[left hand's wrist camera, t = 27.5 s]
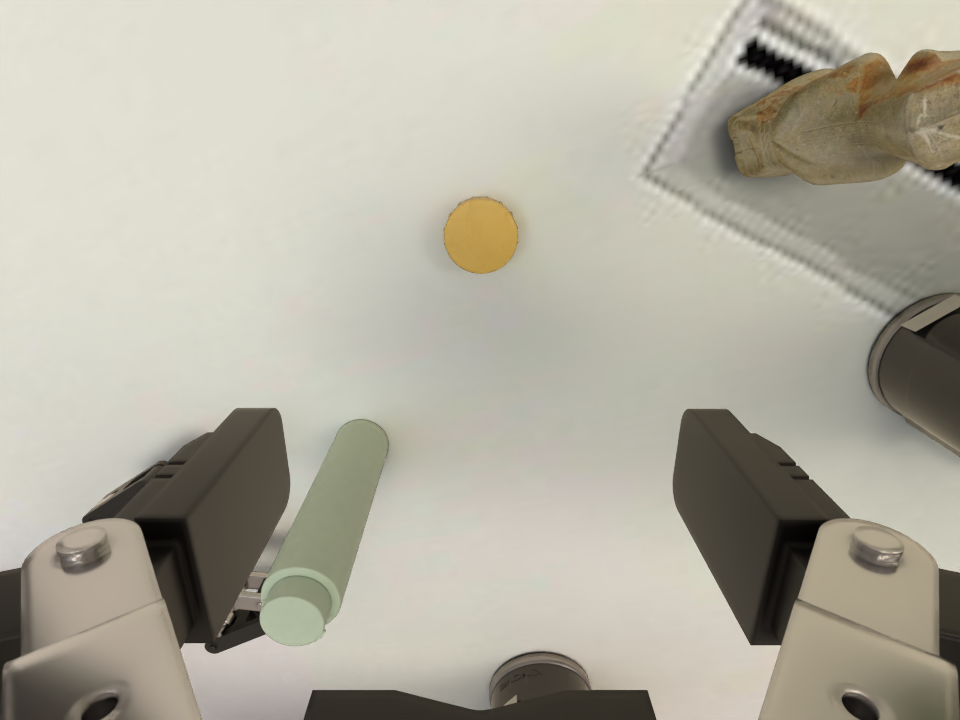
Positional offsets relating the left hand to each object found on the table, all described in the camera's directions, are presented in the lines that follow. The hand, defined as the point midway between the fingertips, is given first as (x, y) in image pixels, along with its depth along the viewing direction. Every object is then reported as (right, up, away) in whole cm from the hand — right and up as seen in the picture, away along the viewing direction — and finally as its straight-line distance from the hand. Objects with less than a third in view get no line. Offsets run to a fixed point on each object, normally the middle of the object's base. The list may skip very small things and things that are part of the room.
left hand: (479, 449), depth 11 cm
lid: (0, +10, +25) cm, 27 cm away
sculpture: (+18, +16, +24) cm, 34 cm away
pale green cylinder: (-9, -5, +32) cm, 34 cm away
